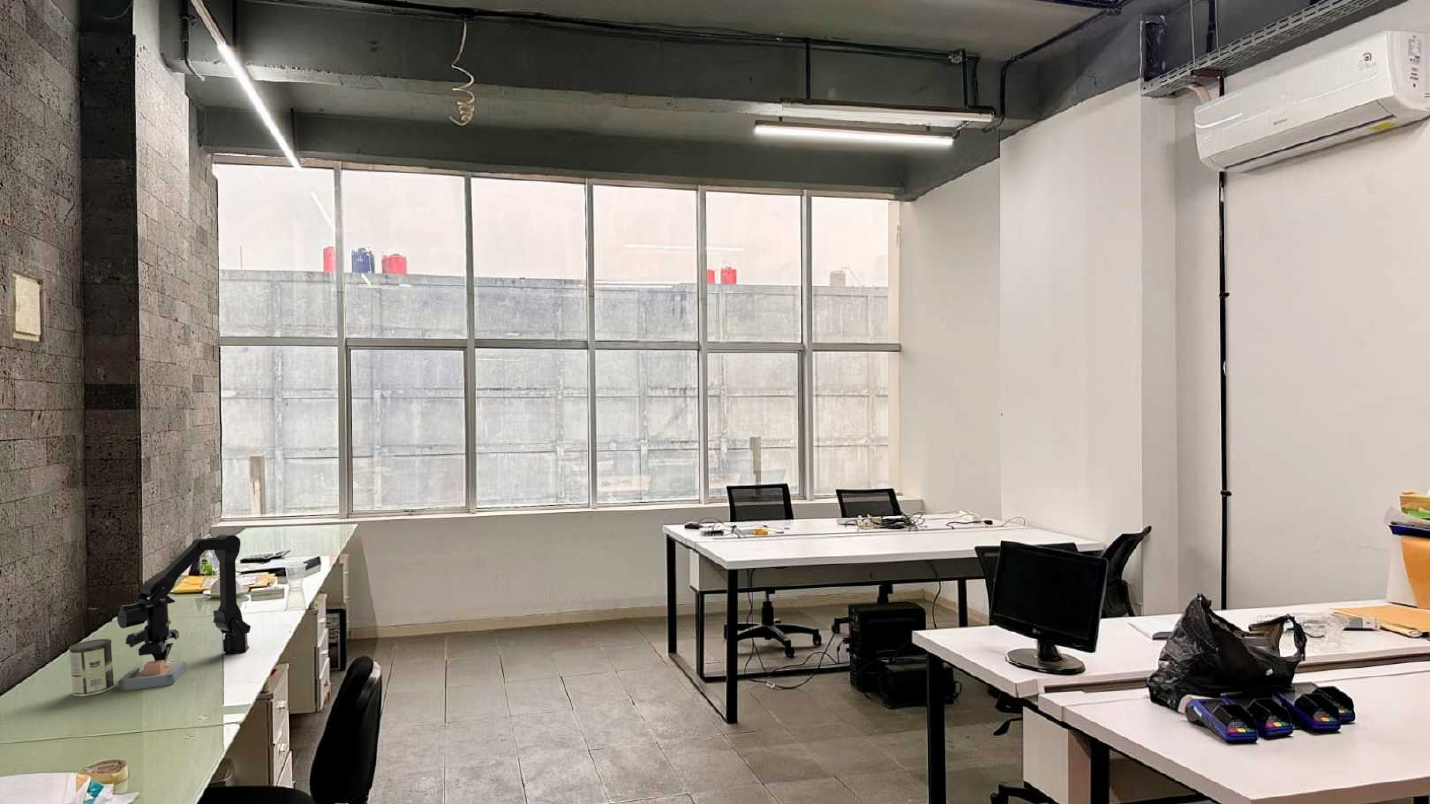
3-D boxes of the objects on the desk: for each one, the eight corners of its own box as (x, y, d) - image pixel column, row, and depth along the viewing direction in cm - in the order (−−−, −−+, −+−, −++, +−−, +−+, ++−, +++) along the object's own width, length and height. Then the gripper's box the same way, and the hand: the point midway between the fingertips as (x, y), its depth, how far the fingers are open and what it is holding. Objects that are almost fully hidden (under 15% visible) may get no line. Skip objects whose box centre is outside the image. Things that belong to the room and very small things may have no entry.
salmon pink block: (165, 669, 271) (164, 659, 271) (160, 673, 266) (159, 663, 266) (148, 671, 269) (148, 661, 269) (144, 675, 265) (143, 665, 265)
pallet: (177, 671, 275) (176, 664, 275) (168, 680, 266) (167, 673, 266) (144, 676, 272) (144, 669, 272) (134, 685, 263) (134, 677, 263)
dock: (185, 670, 275) (185, 661, 275) (173, 684, 262) (172, 674, 262) (134, 677, 271) (133, 667, 271) (118, 691, 258) (117, 681, 258)
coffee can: (98, 683, 266) (95, 637, 266) (122, 685, 263) (119, 639, 263) (63, 695, 257) (60, 647, 257) (88, 697, 253) (85, 649, 253)
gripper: (138, 615, 280) (141, 663, 281) (117, 630, 262) (120, 682, 263) (177, 611, 283) (181, 659, 284) (159, 626, 266) (162, 676, 266)
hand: (161, 669), depth 274 cm, fingers closed
